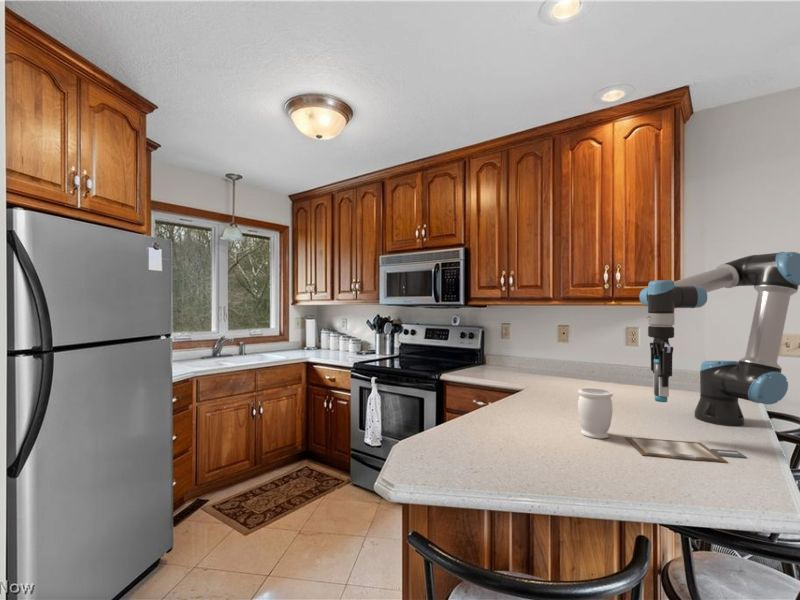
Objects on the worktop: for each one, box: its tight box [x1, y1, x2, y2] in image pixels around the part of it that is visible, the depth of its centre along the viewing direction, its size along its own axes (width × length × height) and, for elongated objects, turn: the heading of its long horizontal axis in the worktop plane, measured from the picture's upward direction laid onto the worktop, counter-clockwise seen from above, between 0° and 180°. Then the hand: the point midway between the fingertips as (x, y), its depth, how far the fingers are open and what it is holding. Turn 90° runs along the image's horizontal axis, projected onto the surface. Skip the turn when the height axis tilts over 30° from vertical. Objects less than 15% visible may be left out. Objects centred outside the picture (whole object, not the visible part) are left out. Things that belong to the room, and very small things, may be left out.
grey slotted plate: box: [710, 448, 748, 459], centre depth 124 cm, size 7×5×1 cm
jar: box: [577, 387, 614, 440], centre depth 140 cm, size 11×10×15 cm
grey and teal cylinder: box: [653, 359, 668, 403], centre depth 140 cm, size 4×4×14 cm
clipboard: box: [625, 436, 729, 464], centre depth 127 cm, size 22×16×1 cm
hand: (661, 394), depth 140 cm, fingers closed on grey and teal cylinder, 4 cm apart
